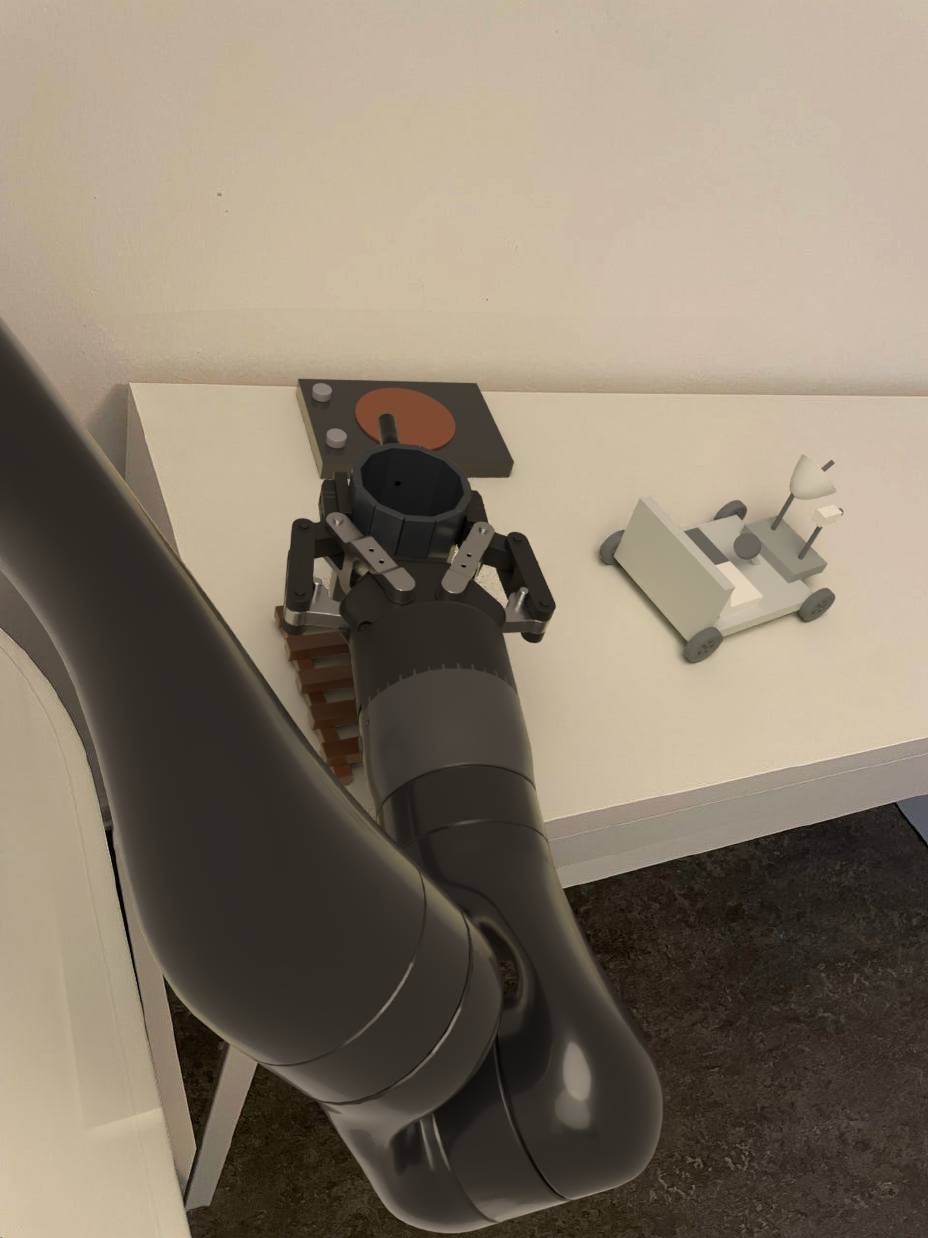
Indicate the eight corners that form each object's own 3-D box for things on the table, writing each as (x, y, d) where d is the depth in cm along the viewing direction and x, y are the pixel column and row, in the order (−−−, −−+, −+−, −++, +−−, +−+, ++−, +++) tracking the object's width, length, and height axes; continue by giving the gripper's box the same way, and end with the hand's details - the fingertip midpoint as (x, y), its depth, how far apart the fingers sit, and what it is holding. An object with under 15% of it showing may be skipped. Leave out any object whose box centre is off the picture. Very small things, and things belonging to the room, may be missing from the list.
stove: (320, 478, 80) (324, 454, 79) (295, 394, 87) (298, 369, 85) (509, 477, 86) (517, 454, 84) (472, 397, 93) (478, 374, 91)
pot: (442, 639, 60) (479, 524, 54) (334, 635, 58) (359, 517, 52) (415, 501, 68) (445, 387, 62) (319, 494, 66) (339, 376, 60)
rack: (269, 617, 69) (271, 596, 68) (394, 602, 73) (399, 582, 72) (326, 789, 61) (330, 770, 60) (464, 762, 65) (471, 744, 63)
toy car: (804, 425, 83) (909, 519, 77) (753, 516, 90) (845, 609, 84) (635, 463, 74) (739, 572, 68) (593, 561, 81) (684, 667, 75)
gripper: (613, 676, 47) (536, 444, 58) (292, 670, 43) (275, 422, 54) (564, 771, 52) (502, 542, 63) (275, 773, 48) (263, 528, 59)
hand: (398, 487), depth 58 cm, fingers closed on pot, 6 cm apart
